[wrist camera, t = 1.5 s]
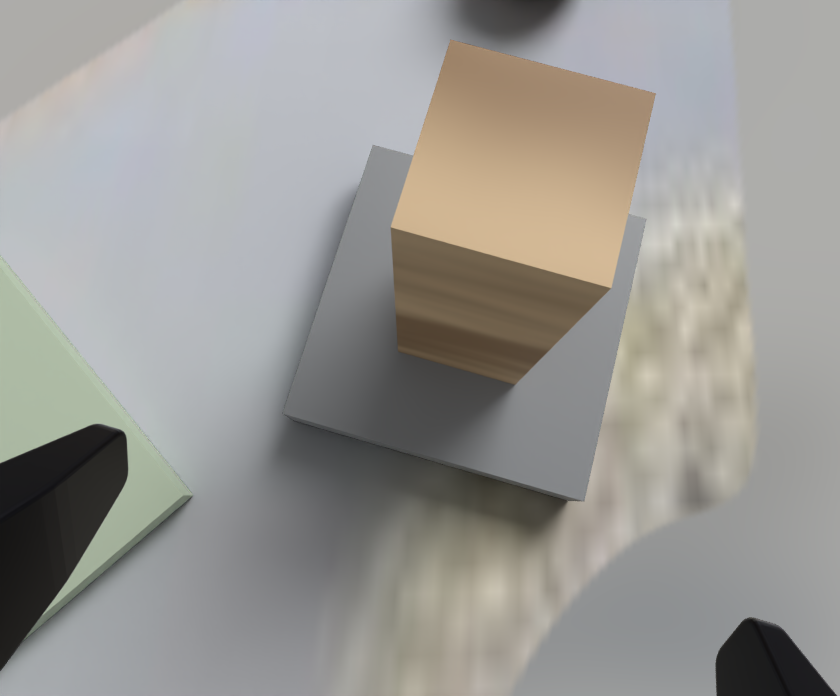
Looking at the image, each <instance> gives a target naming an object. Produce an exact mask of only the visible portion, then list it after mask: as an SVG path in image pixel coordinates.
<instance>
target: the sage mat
mask: <svg viewBox="0 0 840 696" xmlns="http://www.w3.org/2000/svg"><path fill="white" fill-rule="evenodd" d="M92 424H104V425H107V426H110V427H114V428H117V429H121V430H122V431H124V433H125V434H126V437H127V451H128V477H127V480H126V483H125V485H124V487H123V489H122V491H121V493H120V494H119V496H118V498H117V499H116V501H115V503H114V504H113V506H112V508H111V509H110V511H109V513H108V514H107V516H106V518H105V520H104V521H103V523H102V525H101V526H100V528H99V530H98V531H97V533H96V535H95V536H94V538H93V540H92V541H91V543H90V545H89V546H88V548H87V550H86V551H85V553H84V555H83V556H82V558H81V560H80V561H79V563H78V565H77V566H76V568H75V570H74V571H73V573H72V574H71V576H70V577H69V579H68V581H67V582H66V583H65V585H64V586H63V588H62V589H61V590H60V592H59V593H58V595H57V596H56V597H55V599H54V600H53V601H52V603H51V604H50V605H49V607H48V608H47V609H46V611H45V612H44V613H43V615H42V616H41V617H40V619H39V620H38V621H37V623H36V624H35V625H34V627H33V628H32V629H31V631H30V632H29V633H28V635H27V636H26V638H27V637H28V636H30V635H31V634H32V633H33V632H34V631H35V630H37V629H38V628H39V627H40V626H41V625H42V624H44V623H45V622H46V621H47V620H48V619H49V618H51V617H52V616H53V615H54V614H55V613H56V612H58V611H59V610H60V609H61V608H62V607H63V606H65V605H66V604H67V603H68V602H69V601H70V600H72V599H73V598H74V597H75V596H76V595H77V594H79V593H80V592H81V591H82V590H83V589H84V588H86V587H87V586H88V585H89V584H90V583H91V582H93V581H94V580H95V579H96V578H97V577H98V576H100V575H101V574H102V573H103V572H104V571H105V570H107V569H108V568H109V567H110V566H111V565H112V564H114V563H115V562H116V561H117V560H118V559H119V558H121V557H122V556H123V555H124V554H125V553H126V552H128V551H129V550H130V549H131V548H132V547H133V546H135V545H136V544H137V543H138V542H139V541H140V540H142V539H143V538H144V537H145V536H146V535H147V534H149V533H150V532H151V531H152V530H153V529H154V528H156V527H157V526H158V525H159V524H160V523H161V522H163V521H164V520H165V519H166V518H167V517H168V516H170V515H171V514H172V513H173V512H174V511H175V510H177V509H178V508H179V507H180V506H181V505H183V504H184V503H185V502H186V501H187V500H188V499H190V498H191V497H192V496H193V494H192V493H191V492H190V491H189V489H188V488H187V487H186V486H185V484H184V483H183V482H182V481H181V480H180V478H179V477H178V476H177V475H176V473H175V472H174V471H173V470H172V468H171V467H170V466H169V465H168V463H167V462H166V461H165V460H164V458H163V457H162V456H161V455H160V453H159V452H158V451H157V450H156V448H155V447H154V446H153V445H152V443H151V442H150V441H149V440H148V438H147V437H146V436H145V435H144V434H143V432H142V431H141V430H140V429H139V427H138V426H137V425H136V424H135V422H134V421H133V420H132V419H131V417H130V416H129V415H128V414H127V412H126V411H125V410H124V409H123V407H122V406H121V405H120V404H119V402H118V401H117V400H116V399H115V397H114V396H113V395H112V394H111V393H110V391H109V390H108V389H107V388H106V386H105V385H104V384H103V383H102V381H101V380H100V379H99V378H98V376H97V375H96V374H95V373H94V371H93V370H92V369H91V368H90V366H89V365H88V364H87V363H86V361H85V360H84V359H83V358H82V356H81V355H80V354H79V353H78V352H77V350H76V349H75V348H74V347H73V345H72V344H71V343H70V342H69V340H68V339H67V338H66V337H65V335H64V334H63V333H62V332H61V330H60V329H59V328H58V327H57V325H56V324H55V323H54V322H53V320H52V319H51V318H50V317H49V315H48V314H47V313H46V312H45V311H44V309H43V308H42V307H41V306H40V304H39V303H38V302H37V301H36V299H35V298H34V297H33V296H32V294H31V293H30V292H29V291H28V289H27V288H26V287H25V286H24V284H23V283H22V282H21V281H20V279H19V278H18V277H17V276H16V274H15V273H14V272H13V271H12V269H11V268H10V267H9V266H8V265H7V263H6V262H5V261H4V260H3V258H2V257H1V256H0V463H1V462H4V461H6V460H8V459H11V458H13V457H16V456H18V455H20V454H23V453H25V452H27V451H30V450H32V449H35V448H37V447H39V446H42V445H44V444H47V443H49V442H51V441H54V440H56V439H58V438H61V437H63V436H66V435H68V434H70V433H73V432H75V431H77V430H80V429H82V428H85V427H87V426H89V425H92ZM26 638H25V639H26ZM25 639H24V640H25ZM24 640H23V641H24Z"/></svg>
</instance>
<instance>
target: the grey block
mask: <svg viewBox="0 0 840 696" xmlns="http://www.w3.org/2000/svg"><path fill="white" fill-rule="evenodd" d="M412 159H413V156H412V155H408V154H405V153H401V152H397V151H394V150H390V149H386V148H383V147H379V146H375V145H373V146H372V149H371V152H370V155H369V158H368V161H367V164H366V167H365V170H364V173H363V176H362V179H361V182H360V185H359V188H358V191H357V193H356V196H355V199H354V202H353V205H352V208H351V211H350V214H349V217H348V220H347V223H346V226H345V229H344V232H343V235H342V238H341V241H340V244H339V247H338V250H337V253H336V256H335V259H334V262H333V264H332V267H331V270H330V273H329V276H328V279H327V282H326V285H325V288H324V291H323V294H322V297H321V300H320V303H319V306H318V309H317V312H316V315H315V318H314V321H313V324H312V327H311V330H310V333H309V335H308V338H307V341H306V344H305V347H304V350H303V353H302V356H301V359H300V362H299V365H298V368H297V371H296V374H295V377H294V380H293V383H292V386H291V389H290V392H289V395H288V398H287V401H286V404H285V407H284V409H283V412H282V414H284V415H285V416H287V417H289V418H290V419H292V420H293V421H297V422H300V423H304V424H307V425H310V426H314V427H317V428H321V429H324V430H328V431H331V432H334V433H338V434H341V435H345V436H348V437H352V438H355V439H358V440H362V441H365V442H369V443H372V444H376V445H379V446H382V447H386V448H389V449H393V450H396V451H400V452H403V453H406V454H410V455H413V456H417V457H420V458H424V459H427V460H430V461H434V462H437V463H441V464H444V465H448V466H451V467H454V468H458V469H461V470H465V471H468V472H472V473H475V474H478V475H482V476H485V477H489V478H492V479H496V480H499V481H502V482H506V483H509V484H513V485H516V486H520V487H523V488H526V489H530V490H533V491H537V492H540V493H544V494H547V495H550V496H554V497H557V498H561V499H564V500H568V501H584V500H585V496H586V491H587V486H588V482H589V477H590V473H591V468H592V464H593V459H594V455H595V450H596V446H597V441H598V437H599V432H600V427H601V423H602V418H603V414H604V409H605V405H606V400H607V396H608V391H609V387H610V382H611V378H612V373H613V368H614V364H615V359H616V355H617V350H618V346H619V341H620V337H621V332H622V328H623V323H624V319H625V314H626V309H627V305H628V300H629V296H630V291H631V287H632V282H633V278H634V273H635V269H636V264H637V260H638V255H639V251H640V246H641V241H642V237H643V232H644V228H645V223H646V219H645V218H641V217H637V216H634V215H630V214H628V217H627V222H626V226H625V231H624V235H623V239H622V244H621V248H620V253H619V257H618V261H617V266H616V270H615V274H614V279H613V283H612V288H611V289H610V290H609V291H608V292H607V293H606V294H605V295H604V296H603V297H602V298H601V299H600V300H599V301H598V302H597V303H596V304H595V305H594V306H593V307H592V308H591V309H590V310H589V311H588V312H587V313H586V314H585V315H584V316H583V317H582V318H581V319H580V320H579V321H578V322H577V323H576V324H575V325H574V326H573V327H572V328H571V329H570V330H569V331H568V332H567V333H566V334H565V335H564V336H563V337H562V338H561V339H560V340H559V341H558V342H557V343H556V344H555V345H554V346H553V347H552V348H551V349H550V350H549V351H548V352H547V353H546V354H545V355H544V356H543V357H542V358H541V359H540V360H539V361H538V362H537V363H536V364H535V365H534V366H533V367H532V368H531V369H530V370H529V372H528V373H527V374H526V375H525V376H524V377H523V378H522V379H521V380H520V381H519V382H518V383H517V384H516V385H514V384H510V383H507V382H503V381H500V380H496V379H493V378H489V377H486V376H482V375H479V374H475V373H472V372H468V371H465V370H461V369H458V368H454V367H450V366H447V365H443V364H440V363H436V362H433V361H429V360H426V359H422V358H419V357H415V356H412V355H408V354H405V353H401V352H398V343H397V326H396V309H395V293H394V276H393V259H392V243H391V224H392V221H393V218H394V215H395V212H396V209H397V206H398V202H399V199H400V196H401V193H402V190H403V187H404V184H405V181H406V177H407V174H408V171H409V168H410V165H411V162H412Z"/></svg>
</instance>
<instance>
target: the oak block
mask: <svg viewBox="0 0 840 696" xmlns="http://www.w3.org/2000/svg"><path fill="white" fill-rule="evenodd" d="M655 95H656V93H652V92H649V91H645V90H641V89H637V88H633V87H629V86H626V85H622V84H618V83H614V82H610V81H607V80H603V79H599V78H595V77H591V76H587V75H584V74H580V73H576V72H572V71H568V70H565V69H561V68H557V67H553V66H549V65H545V64H542V63H538V62H534V61H530V60H526V59H523V58H519V57H515V56H511V55H507V54H503V53H500V52H496V51H492V50H488V49H484V48H481V47H477V46H473V45H469V44H465V43H461V42H458V41H454V40H450V43H449V46H448V49H447V53H446V56H445V59H444V62H443V65H442V68H441V71H440V74H439V78H438V81H437V84H436V87H435V90H434V93H433V96H432V99H431V102H430V106H429V109H428V112H427V115H426V118H425V121H424V124H423V127H422V131H421V134H420V137H419V140H418V143H417V146H416V149H415V152H414V156H413V159H412V162H411V165H410V168H409V171H408V174H407V177H406V181H405V184H404V187H403V190H402V193H401V196H400V199H399V202H398V206H397V209H396V212H395V215H394V218H393V221H392V224H391V243H392V259H393V276H394V293H395V309H396V326H397V343H398V352H401V353H405V354H408V355H412V356H415V357H419V358H422V359H426V360H429V361H433V362H436V363H440V364H443V365H447V366H450V367H454V368H458V369H461V370H465V371H468V372H472V373H475V374H479V375H482V376H486V377H489V378H493V379H496V380H500V381H503V382H507V383H510V384H514V385H516V384H517V383H518V382H519V381H520V380H521V379H522V378H523V377H524V376H525V375H526V374H527V373H528V372H529V370H530V369H531V368H532V367H533V366H534V365H535V364H536V363H537V362H538V361H539V360H540V359H541V358H542V357H543V356H544V355H545V354H546V353H547V352H548V351H549V350H550V349H551V348H552V347H553V346H554V345H555V344H556V343H557V342H558V341H559V340H560V339H561V338H562V337H563V336H564V335H565V334H566V333H567V332H568V331H569V330H570V329H571V328H572V327H573V326H574V325H575V324H576V323H577V322H578V321H579V320H580V319H581V318H582V317H583V316H584V315H585V314H586V313H587V312H588V311H589V310H590V309H591V308H592V307H593V306H594V305H595V304H596V303H597V302H598V301H599V300H600V299H601V298H602V297H603V296H604V295H605V294H606V293H607V292H608V291H609V290H610V289H611V288H612V283H613V279H614V274H615V270H616V266H617V261H618V257H619V253H620V248H621V244H622V239H623V235H624V231H625V226H626V222H627V217H628V213H629V209H630V204H631V200H632V196H633V191H634V187H635V182H636V178H637V174H638V169H639V165H640V160H641V156H642V152H643V147H644V143H645V139H646V134H647V130H648V125H649V121H650V117H651V112H652V108H653V103H654V99H655Z"/></svg>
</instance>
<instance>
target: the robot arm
mask: <svg viewBox="0 0 840 696" xmlns="http://www.w3.org/2000/svg"><path fill="white" fill-rule="evenodd" d="M127 477H128V451H127V437H126V434H125V433H124V431H122V430H121V429H117V428H114V427H110V426H107V425H104V424H92V425H89V426H87V427H85V428H82V429H80V430H77V431H75V432H73V433H70V434H68V435H66V436H63V437H61V438H58V439H56V440H54V441H51V442H49V443H47V444H44V445H42V446H39V447H37V448H35V449H32V450H30V451H27V452H25V453H23V454H20V455H18V456H16V457H13V458H11V459H8V460H6V461H4V462H1V463H0V671H1V670H2V668H3V667H4V666H5V664H6V663H7V662H8V660H9V659H10V658H11V656H12V655H13V654H14V652H15V651H16V650H17V648H18V647H19V646H20V644H21V643H22V642H23V640H24V639H25V638H26V636H27V635H28V633H29V632H30V631H31V629H32V628H33V627H34V625H35V624H36V623H37V621H38V620H39V619H40V617H41V616H42V615H43V613H44V612H45V611H46V609H47V608H48V607H49V605H50V604H51V603H52V601H53V600H54V599H55V597H56V596H57V595H58V593H59V592H60V590H61V589H62V588H63V586H64V585H65V583H66V582H67V581H68V579H69V577H70V576H71V574H72V573H73V571H74V570H75V568H76V566H77V565H78V563H79V561H80V560H81V558H82V556H83V555H84V553H85V551H86V550H87V548H88V546H89V545H90V543H91V541H92V540H93V538H94V536H95V535H96V533H97V531H98V530H99V528H100V526H101V525H102V523H103V521H104V520H105V518H106V516H107V514H108V513H109V511H110V509H111V508H112V506H113V504H114V503H115V501H116V499H117V498H118V496H119V494H120V493H121V491H122V489H123V487H124V485H125V483H126V480H127ZM716 692H717V696H837V695H836V694H835V693H834V691H833V690H832V689H831V688H830V687H829V685H828V684H827V683H826V682H825V680H824V679H823V678H822V677H821V675H820V674H819V673H818V672H817V670H816V669H815V668H814V667H813V665H812V664H811V663H810V662H809V660H808V659H807V658H806V657H805V656H804V654H803V653H802V652H801V650H799V648H798V647H797V646H796V644H795V643H794V642H793V641H792V639H791V638H790V637H789V636H788V634H787V633H786V632H785V631H784V630H783V629H782V628H781V627H780V626H778V625H776V624H773V623H770V622H767V621H763V620H760V619H756V618H752V617H749V618H747V619H744V620H743V621H742V622H741V624H740V625H739V626H738V627H737V628H736V630H735V631H734V632H733V633H732V635H731V636H730V637H729V638H728V639H727V641H726V642H725V643H724V644H723V646H722V647H721V648H720V650H719V652H718V655H717V658H716Z"/></svg>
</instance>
